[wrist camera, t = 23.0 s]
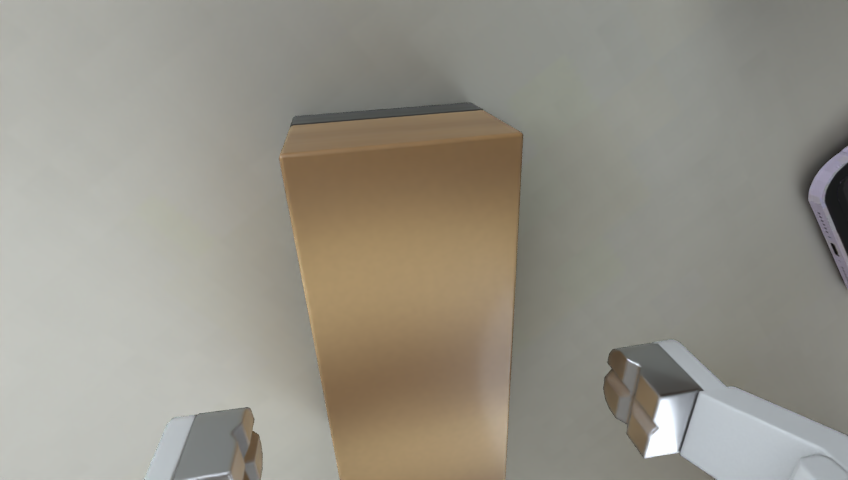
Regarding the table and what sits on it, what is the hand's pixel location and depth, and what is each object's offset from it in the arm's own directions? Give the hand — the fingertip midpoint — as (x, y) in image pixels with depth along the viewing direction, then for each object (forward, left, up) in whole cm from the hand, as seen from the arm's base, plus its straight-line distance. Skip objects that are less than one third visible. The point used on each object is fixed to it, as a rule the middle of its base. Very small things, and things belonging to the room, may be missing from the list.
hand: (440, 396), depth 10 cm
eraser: (+1, 0, -5) cm, 5 cm away
